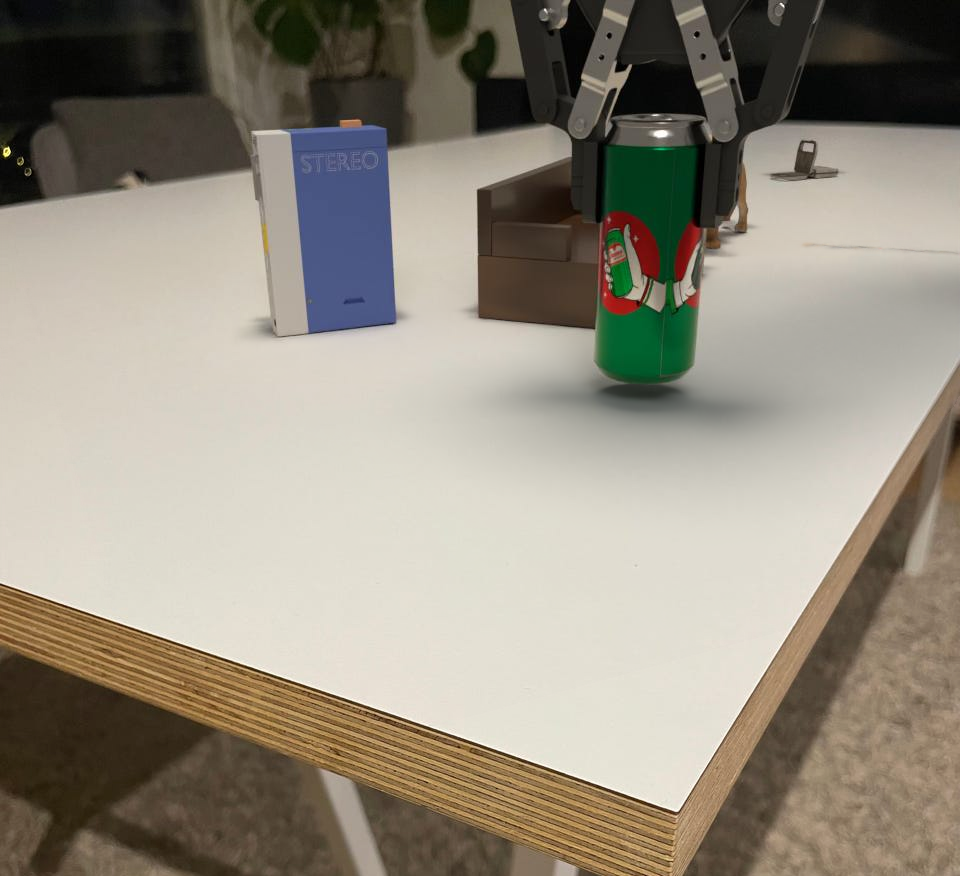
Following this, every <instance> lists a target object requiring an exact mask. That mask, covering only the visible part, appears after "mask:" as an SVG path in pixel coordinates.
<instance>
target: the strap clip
mask: <svg viewBox="0 0 960 876" xmlns="http://www.w3.org/2000/svg"><path fill="white" fill-rule="evenodd" d="M805 144H812V145H813V148H812V151H807V150H804V145H805ZM818 147H819V143H818V142H817V141H816V140H813V139H805V138H803V139H801V140H800V141H799V145H798V147H797V150H796V157H795V161H794V167H793V171H789V172H775V173H770V176H769V177H770V178H774V179H779V180H786V181H797V180H798V181H800V180H801V181H802V180H807V178H813V179H821V178H823V179H824V178H833V177H836V176H838V175H839V168H835V167H829V166H822V165H815V163H816V160H817V156H818V151H819V150H818V149H819V148H818Z"/></svg>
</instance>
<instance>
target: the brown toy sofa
mask: <svg viewBox="0 0 960 876" xmlns="http://www.w3.org/2000/svg"><path fill="white" fill-rule="evenodd" d="M571 162H572V156H567V157H565V158H562V159H558V160H557V161H553V162H550V163H548V164H545V165H541V166H539V167H536V168H533V169H531V170H528V171H525V172H523V173H519V174H517V175H514V176H511V177H508V178H505V179H503V180H500V181H496V182H494V183H490V184H488V185H485V186H483V187H480V188H477V189H476V219H477V220H476V222H477V223H476V227H477V230H476V231H477V314H478V315H477V316H478V318H481V319H492V320H493V319H494V320H504V321H513V322H526V323H534V324H543V325H544V324H545V325H546V324H547V325H557V326H565V327H567V326H568V327H576V328H588V329H595V320H596V291H597V263H598V234H599V223H584V222H583V221H582V210H574V207H573V204H572V201H571V177H572V176H571ZM706 233H707V229H705V240H704V252H703V265H702V275H703V274H704V266H705V257H706Z"/></svg>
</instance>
